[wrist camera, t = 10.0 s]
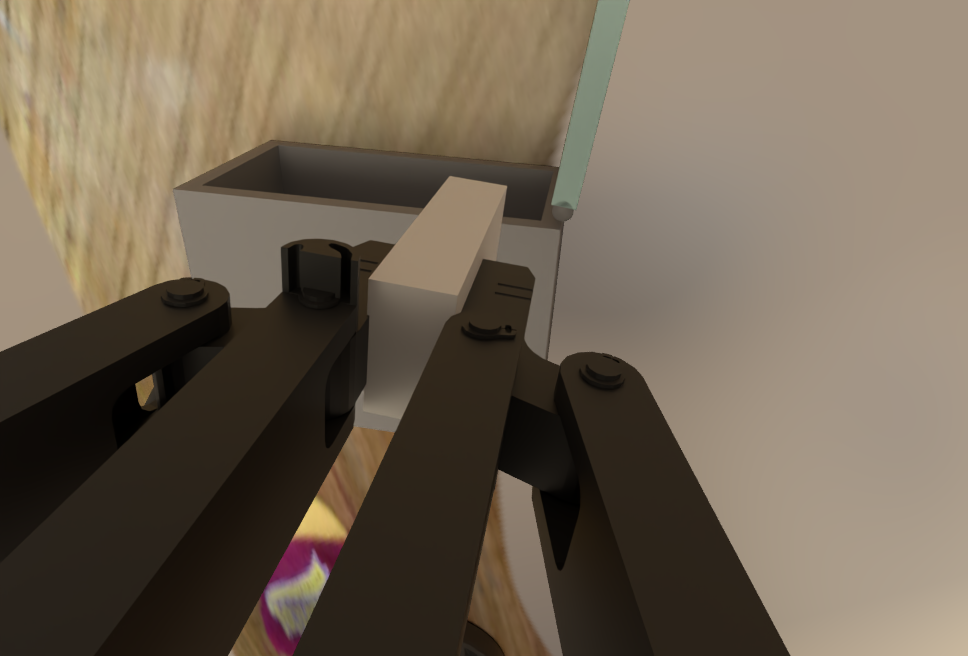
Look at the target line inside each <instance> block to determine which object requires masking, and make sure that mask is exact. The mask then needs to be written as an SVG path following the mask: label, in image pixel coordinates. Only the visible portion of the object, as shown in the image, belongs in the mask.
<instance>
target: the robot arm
mask: <svg viewBox="0 0 968 656" xmlns="http://www.w3.org/2000/svg"><path fill="white" fill-rule="evenodd" d="M506 190H507V186H505V185H499V184H493V183H488V182H482V181H476V180H470V179H465V178H459V177H453V176H449V178H448V179H447V180H446V181H445V183H444V184H443V185H442V186H441V188H440V189H439V190H438V192H437V193H436V194H435V195H434V197H433V198H432V199H431V200H430V202H429V203H428V204H427V205H426V207H425V208H424V209H423V210H422V212H421V213H420V214H419V216H418V217H417V218H416V219H415V221H414V222H413V223H412V224H411V226H410V227H409V228H408V229H407V231H406V232H405V233H404V234H403V236H402V237H401V238H400V240H399V241H398V242H397V243H396V245H395V244H390V243H384V242H379V241H373V240H369V241H367V242H364V243H362V244H359V245H356V246H354V247H352V246H350V245H349V244H346V243H343V242H339V241H336V240H329V239H302V240H297V241H293V242H289V243H287V244H285V245H283V246H282V247H281V271H282V292H281V293H280V294H279V295H278V296H277V297H276V298H275V299H274V300H273V301H272V302H271V303H270V304H269V305H268V306H267V307H266V308H237V307H231V303H230V293H229V292H228V290H227V288H226V287H225V286H223V285H221V284H219V283H217V282H214V281H209V280H204V279H202V278H194V279H192V277H191V278H181V279H178V280H170V281H166V282H163V283H160V284H157V285H154V286H152V287H149V288H147V289H145V290H142V291H140V292H138V293H135V294H133V295H131V296H128V297H126V298H124V299H121V300H119V301H117V302H115V303H112V304H110V305H108V306H105V307H103V308H101V309H98V310H96V311H94V312H91V313H89V314H87V315H85V316H82V317H80V318H78V319H75V320H73V321H71V322H68V323H66V324H64V325H61V326H59V327H57V328H54V329H52V330H50V331H48V332H45V333H43V334H41V335H39V336H36V337H34V338H31V339H29V340H27V341H24V342H22V343H20V344H18V345H15V346H13V347H11V348H8V349H6V350H4V351H1V352H0V656H228V654H229V653H230V651H231V649H232V647H233V645H234V644H235V642H236V640H237V638H238V636H239V635H240V633H241V631H242V629H243V627H244V625H245V624H246V622H247V620H248V618H249V616H250V615H251V613H252V611H253V609H254V607H255V605H256V604H257V602H258V600H259V598H260V596H261V595H262V593H263V591H264V589H265V587H266V585H267V584H268V582H269V580H270V578H271V576H272V575H273V573H274V571H275V569H276V567H277V565H278V564H279V562H280V560H281V558H282V556H283V555H284V553H285V551H286V549H287V547H288V545H289V544H290V542H291V540H292V538H293V536H294V534H295V533H296V531H297V529H298V527H299V525H300V524H301V522H302V520H303V518H304V516H305V514H306V513H307V511H308V509H309V507H310V505H311V504H312V502H313V500H314V498H315V496H316V494H317V493H318V491H319V489H320V487H321V485H322V484H323V482H324V480H325V478H326V476H327V474H328V473H329V471H330V469H331V467H332V465H333V464H334V462H335V460H336V458H337V456H338V454H339V453H340V451H341V449H342V447H343V445H344V444H345V442H346V440H347V438H348V436H349V434H350V433H351V431H352V429H353V426H354V421H355V403H356V401H357V399H358V397H359V396H360V394H361V392H362V391H363V389H364V400H363V411H364V412H369V413H374V414H379V415H384V416H389V417H394V418H398V419H401V420H400V423H399V425H398V427H397V429H396V431H395V434H394V436H393V438H392V440H391V442H390V444H389V447H388V449H387V451H386V453H385V455H384V458H383V460H382V462H381V464H380V466H379V468H378V471H377V473H376V475H375V477H374V479H373V482H372V484H371V486H370V488H369V490H368V492H367V495H366V497H365V499H364V501H363V503H362V506H361V508H360V510H359V512H358V514H357V516H356V519H355V521H354V523H353V525H352V527H351V530H350V532H349V534H348V536H347V538H346V540H345V543H344V545H343V547H342V549H341V551H340V554H339V556H338V558H337V560H336V562H335V564H334V567H333V569H332V571H331V573H330V575H329V578H328V580H327V582H326V584H325V586H324V588H323V591H322V593H321V595H320V597H319V599H318V602H317V604H316V606H315V608H314V610H313V613H312V615H311V617H310V619H309V621H308V623H307V626H306V628H305V630H304V632H303V634H302V637H301V639H300V641H299V643H298V645H297V647H296V650H295V652H294V654H293V656H504V655H503V653H502V651H501V649H500V648H499V646H498V645H497V644H496V643H495V641H494V640H493V639H492V638H491V637H489V636H488V635H487V634H486V633H485V632H483V631H482V630H480V629H479V628H477V627H476V626H474V625H472V624H470V623H468V622H467V619H468V614H469V609H470V604H471V599H472V594H473V589H474V584H475V580H476V575H477V570H478V565H479V560H480V555H481V550H482V545H483V541H484V536H485V531H486V526H487V521H488V516H489V511H490V507H491V502H492V497H493V492H494V490H495V485H496V479H497V474H498V469H499V470H501V471H503V472H505V473H507V474H509V475H511V476H513V477H515V478H517V479H520V480H522V481H524V482H526V483H528V484H530V485H532V486H533V487H532V501H533V507H534V511H535V517H536V522H537V527H538V532H539V537H540V542H541V547H542V552H543V557H544V563H545V568H546V572H547V578H548V583H549V588H550V593H551V598H552V603H553V608H554V613H555V618H556V623H557V628H558V633H559V638H560V643H561V648H562V653H563V656H790V654H789V652H788V651H787V648H786V647H785V645H784V643H783V641H782V639H781V637H780V636H779V634H778V632H777V630H776V628H775V626H774V624H773V622H772V620H771V618H770V616H769V614H768V613H767V611H766V609H765V607H764V605H763V603H762V601H761V599H760V597H759V596H758V594H757V592H756V590H755V588H754V586H753V584H752V582H751V580H750V579H749V577H748V575H747V573H746V571H745V569H744V567H743V565H742V563H741V562H740V560H739V558H738V556H737V554H736V552H735V550H734V548H733V546H732V545H731V543H730V541H729V539H728V537H727V535H726V533H725V531H724V529H723V528H722V526H721V524H720V522H719V520H718V518H717V516H716V514H715V512H714V511H713V509H712V507H711V505H710V503H709V501H708V499H707V497H706V495H705V494H704V492H703V490H702V488H701V486H700V484H699V482H698V480H697V478H696V476H695V475H694V473H693V471H692V469H691V467H690V465H689V463H688V461H687V460H686V458H685V456H684V454H683V452H682V450H681V448H680V446H679V445H678V443H677V441H676V439H675V437H674V435H673V433H672V431H671V429H670V427H669V426H668V424H667V422H666V420H665V418H664V416H663V414H662V412H661V410H660V408H659V407H658V405H657V403H656V401H655V399H654V397H653V395H652V393H651V392H650V390H649V388H648V386H647V384H646V382H645V380H644V378H643V377H642V376H641V374H640V373H639V372H638V371H637V370H636V369H635V368H634V367H632V366H631V365H629V364H628V363H626V362H625V361H623V360H622V359H619V358H617V357H613V356H612V355H609V354H604V353H602V354H601V353H595V352H581V353H576V354H573V355H570V356H567V357H566V358H565V359H564V360H563V361H562V363H561V364H560V366H559V365H556V364H554V363H552V362H549V361H547V360H545V359H543V358H541V357H540V356H539V355H537V354H536V353H534V352H533V351H532V350H531V349H530V348H529V347H528V346H527V344H526V342H525V339H524V337H525V332H526V327H527V321H528V316H529V311H530V305H531V300H532V295H533V289H534V284H535V279H536V278H535V277H534V275H533V274H532V272H531V271H530V269H529V268H528V267H525V266H519V265H514V264H509V263H503V262H498V261H496V257H497V250H498V243H499V237H500V230H501V224H502V217H503V210H504V204H505V197H506ZM151 374H152V377H153V383H154V389H155V395H156V400H154V401H153V402H151V403H149V404H147V405H144V406H140V404H139V402H138V397H137V391H136V386H135V384H136V383H137V382H139V381H141V380H143V379H144V378H146V377H148V376H149V375H151Z"/></svg>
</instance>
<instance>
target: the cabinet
mask: <svg viewBox="0 0 968 656" xmlns="http://www.w3.org/2000/svg"><path fill="white" fill-rule="evenodd" d="M558 171H559V167H552V166H541V165H530V164H520V163H509V162H498V161H488V160H477V159H466V158H455V157H445V156H434V155H423V154H413V153H402V152H391V151H381V150H370V149H359V148H348V147H338V146H327V145H316V144H306V143H295V142H284V141H274V140H270V141H268V142H266V143H264V144H262V145H260V146H258V147H256V148H254V149H252V150H250V151H248V152H246V153H244V154H242V155H240V156H238V157H236V158H234V159H232V160H230V161H228V162H226V163H224V164H222V165H220V166H218V167H216V168H214V169H212V170H210V171H208V172H206V173H204V174H202V175H200V176H198V177H196V178H194V179H192V180H190V181H188V182H186V183H184V184H182V185H180V186H178V187H176V188H174V189H173V193H174V198H175V203H176V207H177V212H178V217H179V222H180V226H181V231H182V236H183V241H184V245H185V250H186V255H187V260H188V264H189V269H190V274H191V277H192V279H194V278H202V279H204V280H209V281H214V282H217V283H219V284H221V285H223V286H225V287H226V288H227V290H228V292H229V293H230V303H231V307H237V308H266V307H267V306H268V305H269V304H270V303H271V302H272V301H273V300H274V299H275V298H276V297H277V296H278V295H279V294H280V293H281V292H282V271H281V247H282V246H283V245H285V244H287V243H289V242H293V241H297V240H302V239H329V240H336V241H339V242H343V243H346V244H349V245H350V246H352V247H354V246H356V245H359V244H362V243H364V242H367V241H369V240H373V241H379V242H384V243H390V244H395V245H396V243H397V242H398V241H399V240H400V238H401V237H402V236H403V234H404V233H405V232H406V231H407V229H408V228H409V227H410V226H411V224H412V223H413V222H414V221H415V219H416V218H417V217H418V216H419V214H420V213H421V212H422V210H423V209H424V208H425V207H426V205H427V204H428V203H429V202H430V200H431V199H432V198H433V197H434V195H435V194H436V193H437V192H438V190H439V189H440V188H441V186H442V185H443V184H444V183H445V181H446V180H447V179H448V178H449V176H453V177H459V178H465V179H470V180H476V181H482V182H488V183H493V184H499V185H505V186H507V190H506V197H505V204H504V210H503V217H502V224H501V230H500V237H499V243H498V250H497V257H496V261H498V262H503V263H509V264H514V265H519V266H525V267H528V268H529V269H530V271H531V272H532V274H533V275H534V277H535V278H536V279H535V284H534V289H533V295H532V300H531V305H530V311H529V316H528V321H527V327H526V332H525V337H524V339H525V342H526V344H527V346H528V347H529V348H530V349H531V350H532V351H533V352H534V353H536V354H537V355H539V356H540V357H541V358H543V359H545V360H547V359H548V350H549V343H550V334H551V326H552V318H553V309H554V301H555V293H556V285H557V276H558V268H559V259H560V251H561V242H562V235H563V226H564V221H558V220H556V219H555V218H554V216H553V214H552V208H553V205H551V203H552V198H553V194H554V189H555V185H556V180H557V176H558ZM363 400H364V389H363V391H362V392H361V394H360V396H359V397H358V399H357V401H356V403H355V421H354V426H356V427H363V428H369V429H376V430H383V431H390V432H395V431H396V429H397V427H398V425H399V423H400V420H401V419H398V418H394V417H389V416H384V415H379V414H374V413H369V412H364V411H363Z"/></svg>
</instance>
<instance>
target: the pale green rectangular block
mask: <svg viewBox="0 0 968 656" xmlns="http://www.w3.org/2000/svg"><path fill="white" fill-rule="evenodd" d="M629 1H630V0H598V2H597V6H596V11H595V15H594V19H593V24H592V28H591V32H590V36H589V41H588V45H587V49H586V54H585V58H584V62H583V67H582V71H581V75H580V80H579V84H578V88H577V93H576V97H575V101H574V106H573V110H572V114H571V119H570V123H569V127H568V132H567V136H566V140H565V144H564V149H563V153H562V158H561V162H560V167H559V171H558V176H557V180H556V185H555V189H554V194H553V198H552V203H551V205H553V208H552V214H553V216H554V218H555V219H556V220H558V221H567V220H569V219H570V218H571V217H572V215H573V210H576V209H577V205H578V201H579V197H580V193H581V189H582V185H583V181H584V177H585V173H586V170H587V165H588V162H589V157H590V154H591V150H592V146H593V142H594V138H595V134H596V130H597V127H598V123H599V118H600V114H601V111H602V107H603V103H604V99H605V95H606V91H607V87H608V83H609V80H610V76H611V72H612V68H613V64H614V60H615V56H616V52H617V48H618V44H619V40H620V36H621V33H622V28H623V25H624V21H625V17H626V13H627V9H628V5H629Z"/></svg>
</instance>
